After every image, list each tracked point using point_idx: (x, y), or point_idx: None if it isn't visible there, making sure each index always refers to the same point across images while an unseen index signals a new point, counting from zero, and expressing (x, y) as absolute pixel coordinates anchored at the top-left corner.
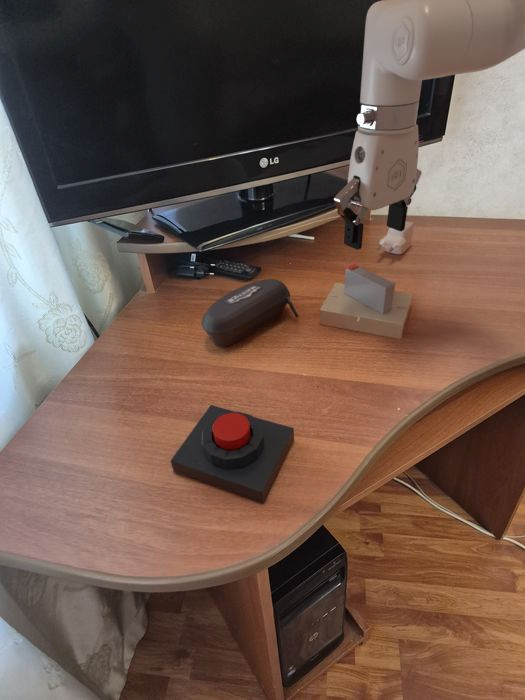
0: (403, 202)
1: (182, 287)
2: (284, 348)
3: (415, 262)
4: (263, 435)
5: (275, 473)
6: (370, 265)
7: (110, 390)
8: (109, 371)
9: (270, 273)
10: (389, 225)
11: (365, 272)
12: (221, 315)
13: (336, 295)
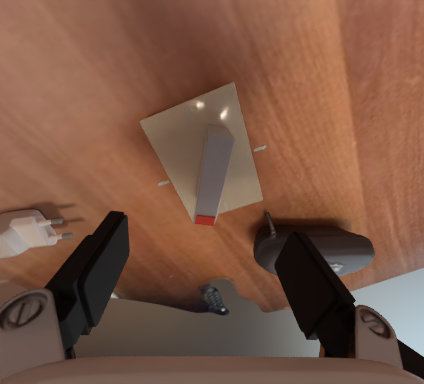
0: (58, 316)
1: (269, 301)
2: (317, 188)
3: (30, 182)
4: None
5: None
6: (98, 220)
7: (418, 247)
8: (396, 262)
9: (201, 276)
10: (127, 250)
11: (205, 197)
12: (367, 257)
13: (222, 204)
